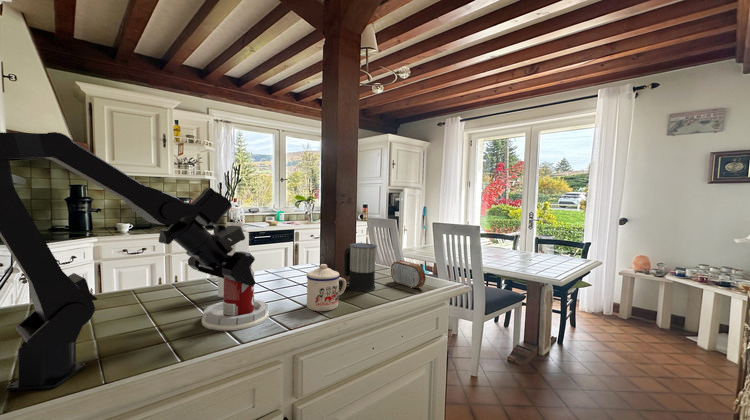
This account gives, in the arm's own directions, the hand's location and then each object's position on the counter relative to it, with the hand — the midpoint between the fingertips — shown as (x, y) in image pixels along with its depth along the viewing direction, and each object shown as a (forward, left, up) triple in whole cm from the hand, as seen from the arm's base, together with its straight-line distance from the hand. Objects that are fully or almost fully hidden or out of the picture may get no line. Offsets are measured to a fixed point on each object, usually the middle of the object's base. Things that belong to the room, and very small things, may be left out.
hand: (242, 281), depth 78 cm
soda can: (-2, 0, -8) cm, 8 cm away
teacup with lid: (+7, -21, -9) cm, 24 cm away
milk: (+18, +7, -9) cm, 21 cm away
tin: (+26, -49, -9) cm, 56 cm away
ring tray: (-1, +1, -9) cm, 9 cm away
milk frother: (+23, -29, -9) cm, 38 cm away
